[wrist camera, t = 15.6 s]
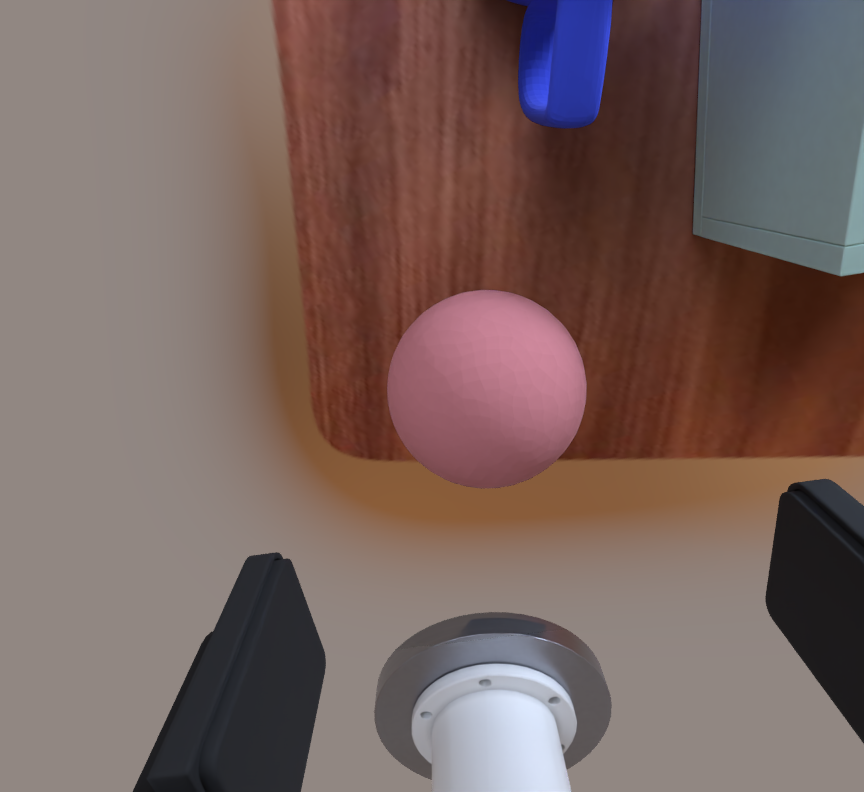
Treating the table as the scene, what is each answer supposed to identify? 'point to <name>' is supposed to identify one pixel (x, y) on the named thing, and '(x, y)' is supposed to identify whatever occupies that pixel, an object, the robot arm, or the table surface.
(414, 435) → the light bulb
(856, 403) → the table surface
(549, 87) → the mug
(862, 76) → the mint green open box
